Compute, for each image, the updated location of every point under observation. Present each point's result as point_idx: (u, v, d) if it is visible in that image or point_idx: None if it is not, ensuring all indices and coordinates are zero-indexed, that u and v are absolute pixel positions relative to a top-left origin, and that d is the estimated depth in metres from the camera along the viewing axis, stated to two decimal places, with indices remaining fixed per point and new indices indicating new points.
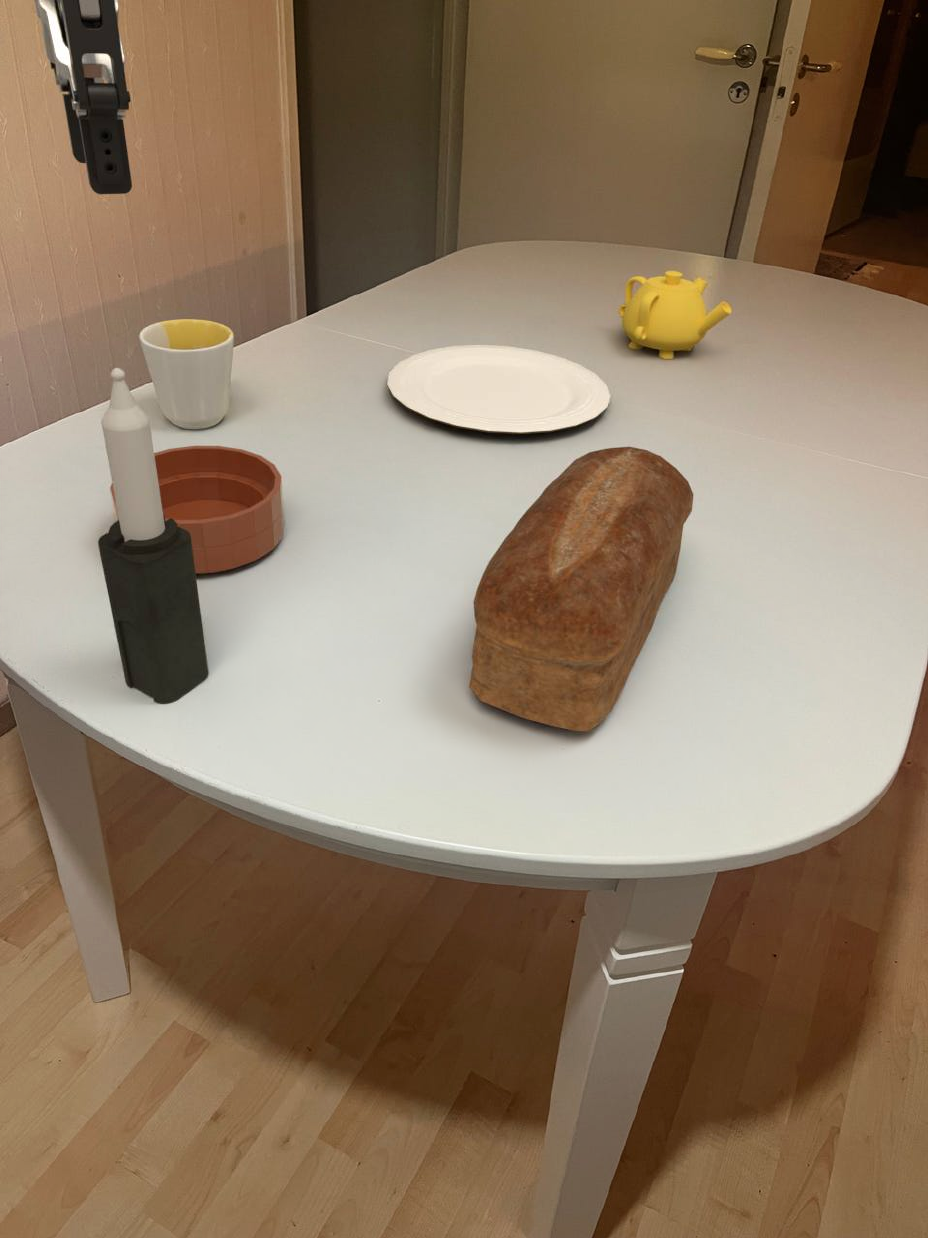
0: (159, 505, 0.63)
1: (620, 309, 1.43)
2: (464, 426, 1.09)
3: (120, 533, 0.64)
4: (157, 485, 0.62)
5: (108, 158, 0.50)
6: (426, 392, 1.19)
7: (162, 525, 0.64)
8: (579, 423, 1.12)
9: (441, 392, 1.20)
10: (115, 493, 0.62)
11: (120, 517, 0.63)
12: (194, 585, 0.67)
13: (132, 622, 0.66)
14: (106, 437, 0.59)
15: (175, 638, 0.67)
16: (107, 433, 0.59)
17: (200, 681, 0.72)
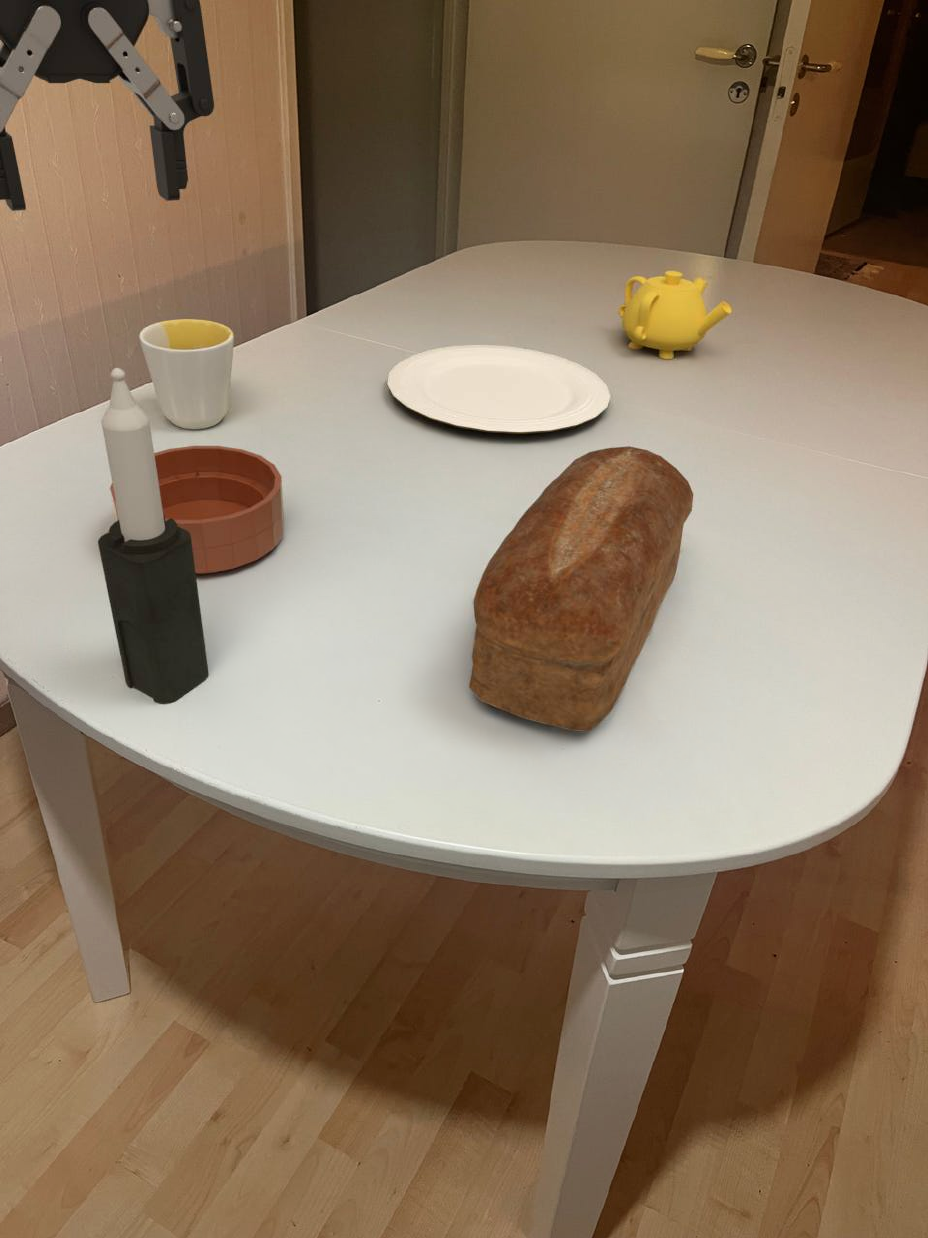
0: (160, 505, 0.63)
1: (620, 309, 1.43)
2: (464, 426, 1.09)
3: (120, 533, 0.64)
4: (157, 485, 0.62)
5: None
6: (426, 392, 1.19)
7: (162, 525, 0.64)
8: (579, 423, 1.12)
9: (441, 392, 1.20)
10: (115, 493, 0.62)
11: (120, 517, 0.63)
12: (194, 585, 0.67)
13: (132, 622, 0.66)
14: (106, 437, 0.59)
15: (175, 638, 0.67)
16: (107, 433, 0.59)
17: (200, 681, 0.72)
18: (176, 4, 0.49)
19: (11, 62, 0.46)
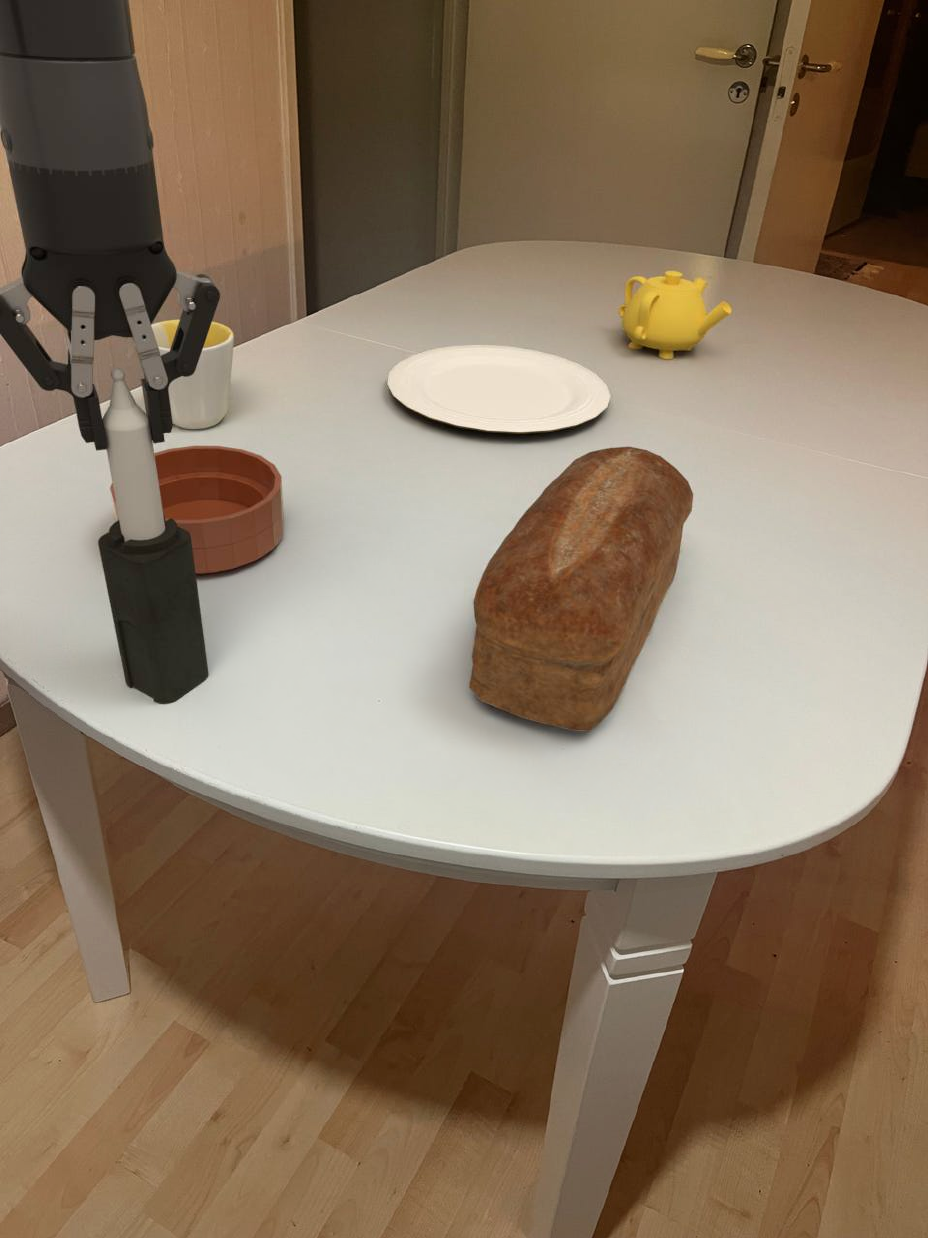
0: (160, 505, 0.63)
1: (620, 309, 1.43)
2: (464, 426, 1.09)
3: (120, 533, 0.64)
4: (157, 485, 0.62)
5: None
6: (426, 392, 1.19)
7: (162, 525, 0.64)
8: (579, 423, 1.12)
9: (441, 392, 1.20)
10: (115, 493, 0.62)
11: (120, 517, 0.63)
12: (194, 585, 0.67)
13: (132, 622, 0.66)
14: (106, 437, 0.59)
15: (175, 638, 0.67)
16: (107, 433, 0.59)
17: (200, 681, 0.72)
18: (199, 290, 0.56)
19: (74, 341, 0.54)
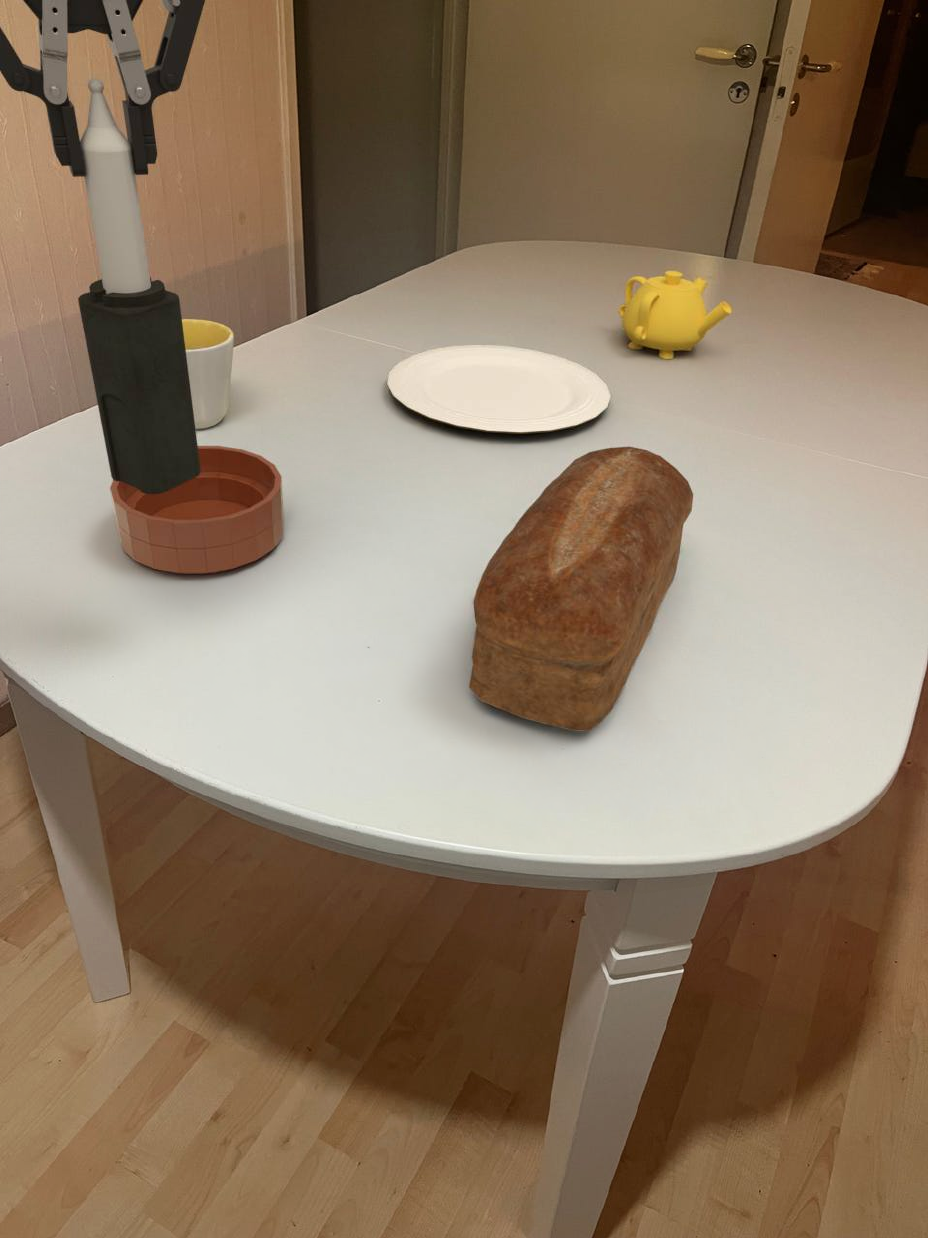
0: (144, 254, 0.58)
1: (620, 309, 1.43)
2: (464, 426, 1.09)
3: (102, 287, 0.59)
4: (141, 229, 0.57)
5: (52, 138, 0.53)
6: (426, 392, 1.19)
7: (147, 280, 0.59)
8: (579, 423, 1.12)
9: (441, 392, 1.20)
10: (95, 235, 0.57)
11: (101, 266, 0.58)
12: (183, 358, 0.62)
13: (116, 394, 0.61)
14: None
15: (163, 415, 0.62)
16: (85, 155, 0.54)
17: (191, 476, 0.67)
18: None
19: (45, 27, 0.49)
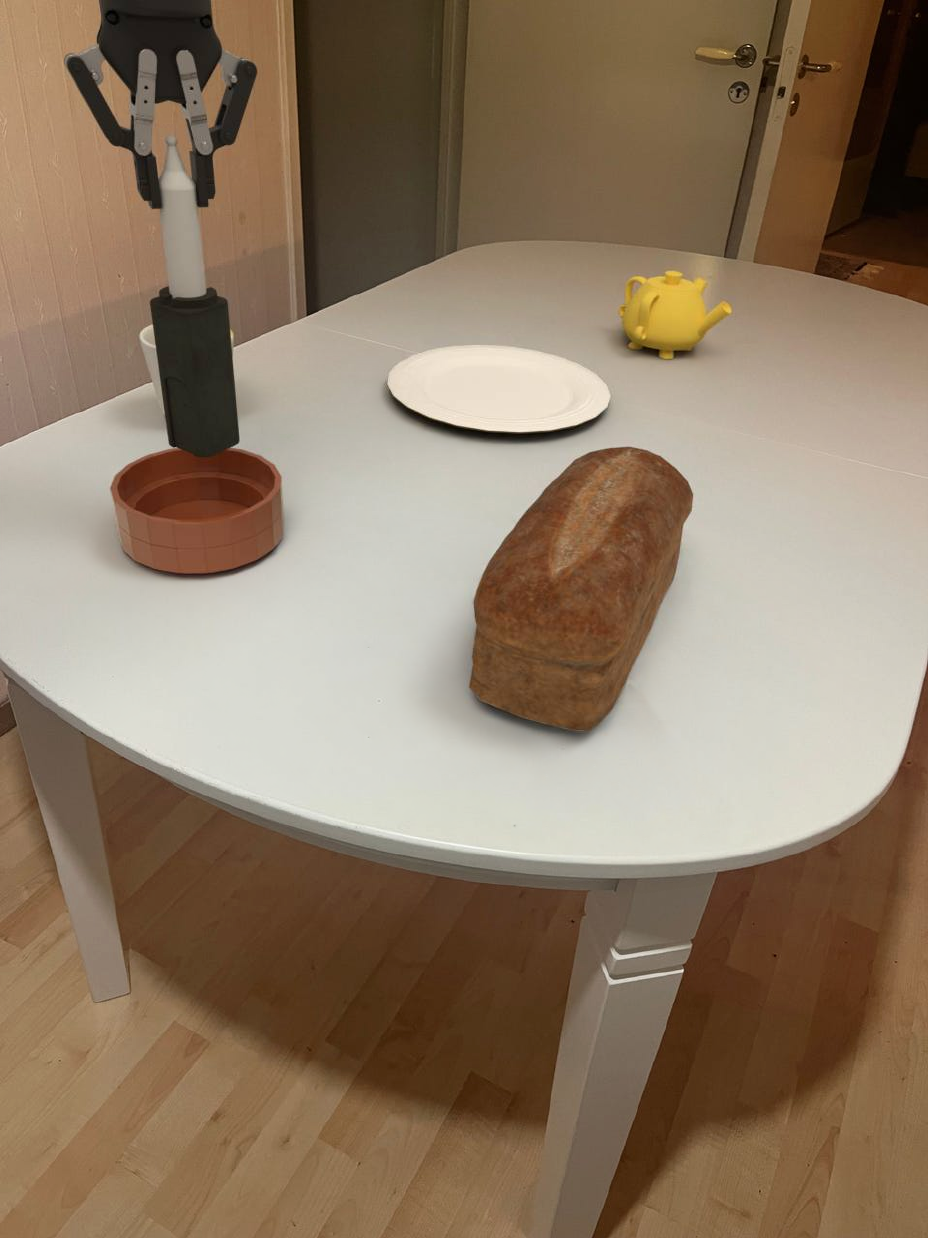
0: (202, 267, 0.75)
1: (620, 309, 1.43)
2: (464, 426, 1.09)
3: (169, 293, 0.75)
4: (201, 248, 0.74)
5: (137, 179, 0.70)
6: (426, 392, 1.19)
7: (204, 287, 0.75)
8: (579, 423, 1.12)
9: (441, 391, 1.20)
10: (166, 253, 0.73)
11: (169, 277, 0.74)
12: (229, 348, 0.79)
13: (177, 376, 0.78)
14: None
15: (213, 394, 0.79)
16: (161, 192, 0.70)
17: (233, 444, 0.83)
18: (240, 66, 0.68)
19: (138, 100, 0.66)
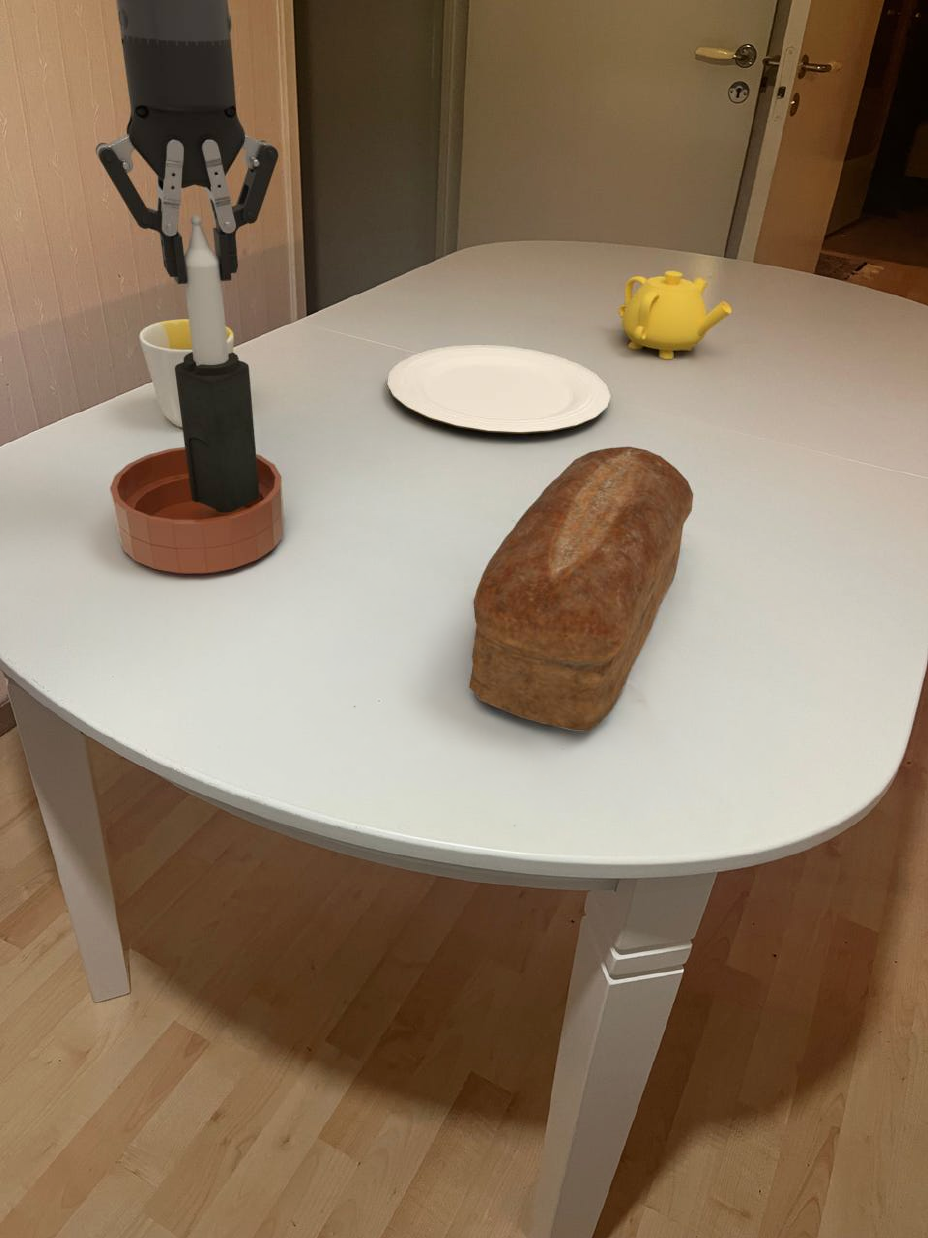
0: (225, 336, 0.78)
1: (620, 309, 1.43)
2: (464, 426, 1.09)
3: (193, 360, 0.79)
4: (224, 318, 0.77)
5: (164, 257, 0.73)
6: (426, 392, 1.19)
7: (226, 354, 0.79)
8: (579, 423, 1.12)
9: (441, 391, 1.20)
10: (190, 323, 0.77)
11: (193, 345, 0.78)
12: (250, 410, 0.82)
13: (201, 438, 0.81)
14: None
15: (235, 453, 0.82)
16: (187, 269, 0.74)
17: (253, 498, 0.87)
18: (262, 150, 0.71)
19: (166, 186, 0.69)
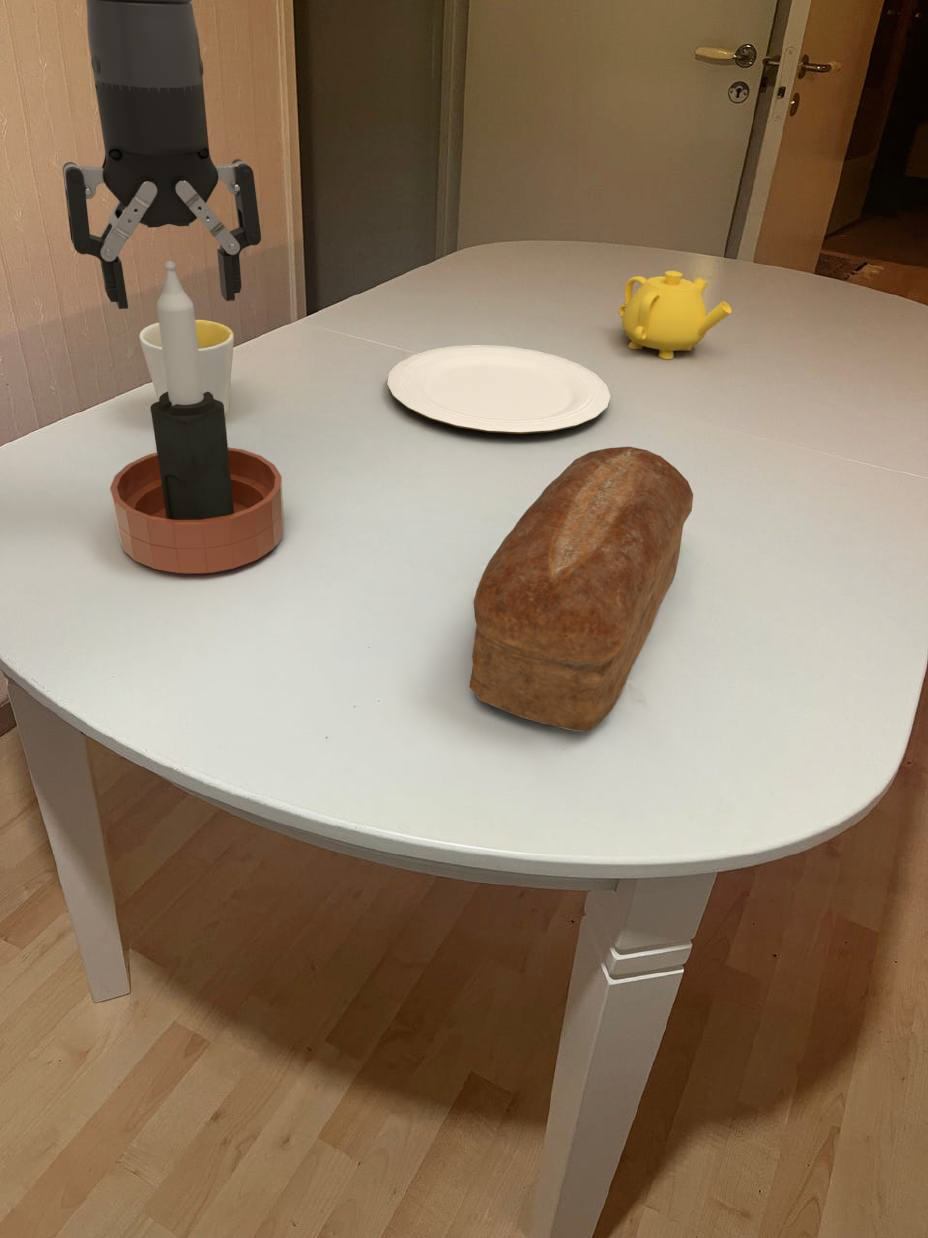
0: (200, 376, 0.79)
1: (620, 309, 1.43)
2: (464, 426, 1.09)
3: (168, 400, 0.80)
4: (198, 359, 0.79)
5: (104, 282, 0.73)
6: (426, 392, 1.19)
7: (201, 394, 0.80)
8: (579, 423, 1.12)
9: (441, 392, 1.20)
10: (165, 365, 0.78)
11: (168, 386, 0.79)
12: (226, 447, 0.84)
13: (176, 475, 0.82)
14: (160, 316, 0.76)
15: (211, 490, 0.84)
16: (161, 313, 0.75)
17: None
18: (237, 173, 0.72)
19: (123, 216, 0.69)
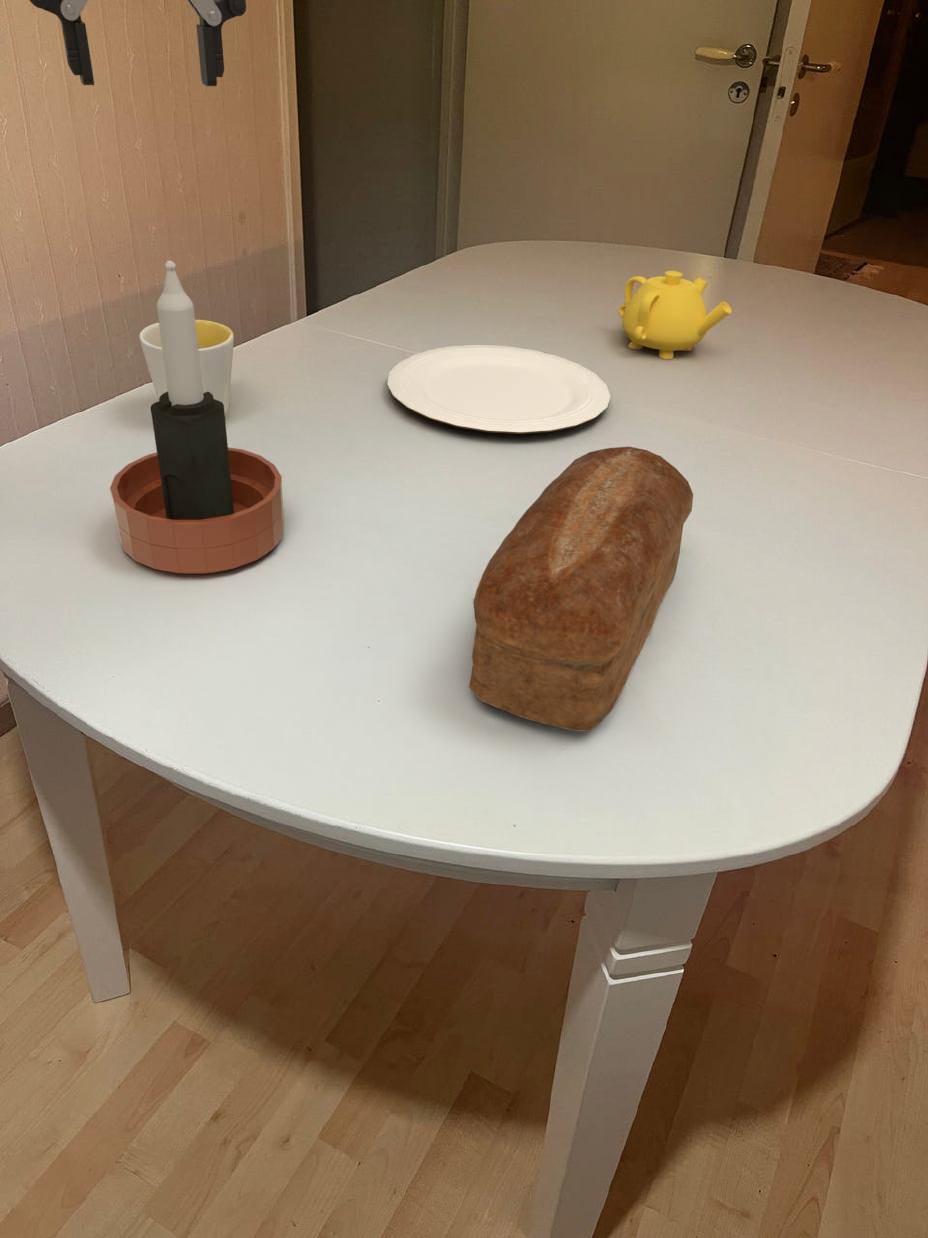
0: (200, 376, 0.79)
1: (620, 309, 1.43)
2: (464, 426, 1.09)
3: (168, 400, 0.80)
4: (198, 359, 0.79)
5: (66, 51, 0.64)
6: (426, 392, 1.19)
7: (201, 394, 0.80)
8: (579, 423, 1.12)
9: (441, 392, 1.20)
10: (165, 365, 0.78)
11: (168, 386, 0.79)
12: (226, 447, 0.84)
13: (176, 475, 0.82)
14: (160, 316, 0.76)
15: (211, 490, 0.84)
16: (161, 313, 0.75)
17: None
18: None
19: None
